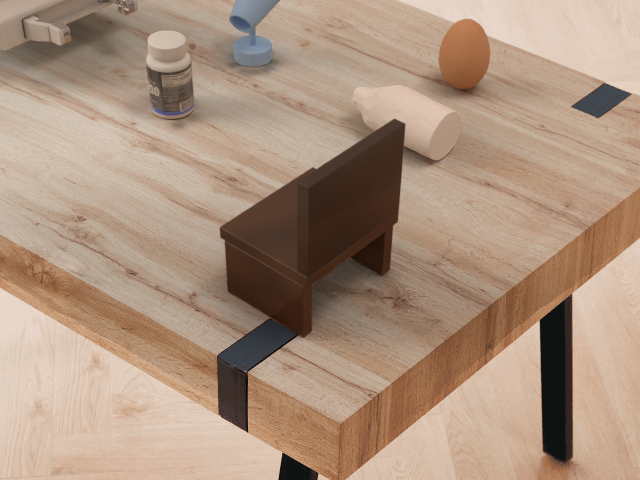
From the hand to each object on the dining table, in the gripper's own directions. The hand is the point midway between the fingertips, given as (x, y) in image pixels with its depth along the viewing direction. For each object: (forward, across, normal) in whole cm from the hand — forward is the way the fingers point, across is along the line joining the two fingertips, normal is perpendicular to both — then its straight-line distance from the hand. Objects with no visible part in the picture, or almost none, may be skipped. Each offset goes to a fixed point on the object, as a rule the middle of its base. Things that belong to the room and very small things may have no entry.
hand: (100, 21), depth 118 cm
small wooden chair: (+41, -12, +6) cm, 43 cm away
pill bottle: (+11, 0, +7) cm, 13 cm away
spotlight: (+9, +14, +7) cm, 18 cm away
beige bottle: (+32, +12, +7) cm, 35 cm away
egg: (+31, +25, +7) cm, 41 cm away
